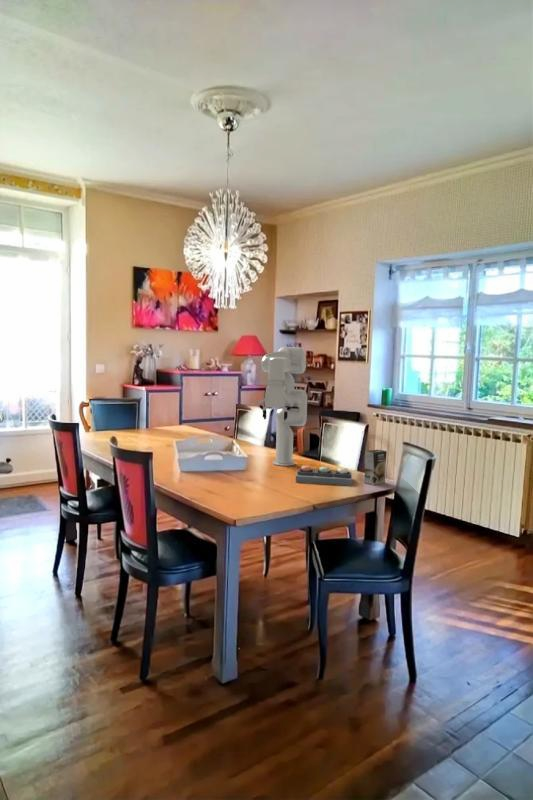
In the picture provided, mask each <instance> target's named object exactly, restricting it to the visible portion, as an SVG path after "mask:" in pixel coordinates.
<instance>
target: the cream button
mask: <svg viewBox="0 0 533 800" xmlns="http://www.w3.org/2000/svg"><path fill="white" fill-rule="evenodd" d="M348 469H349V468H347V467H338V468H337V470H336V471H337V473H339V474H347V473H348Z"/></svg>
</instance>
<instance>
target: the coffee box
mask: <svg viewBox="0 0 533 800" xmlns="http://www.w3.org/2000/svg"><path fill="white" fill-rule="evenodd" d="M364 461H365V462H364V474H363V475H364V476H363V477H364V478H363V483H365V484H368V485H371V486H376V485H380V484H382V485H383V484H385V483H386V472H387V471H386V468H387V451H386V450H384V449H383V450H382V449H372V450H370V449H369V450H365V459H364Z"/></svg>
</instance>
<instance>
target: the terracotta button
mask: <svg viewBox="0 0 533 800" xmlns="http://www.w3.org/2000/svg"><path fill="white" fill-rule="evenodd" d="M300 469H301V471H304V472H310V471H311V469H312V466H311V465H301V467H300Z"/></svg>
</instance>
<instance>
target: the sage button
mask: <svg viewBox="0 0 533 800" xmlns="http://www.w3.org/2000/svg"><path fill="white" fill-rule="evenodd" d="M318 470H319V472H321V473H329V470H330V467H329V466H319V467H318Z"/></svg>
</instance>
